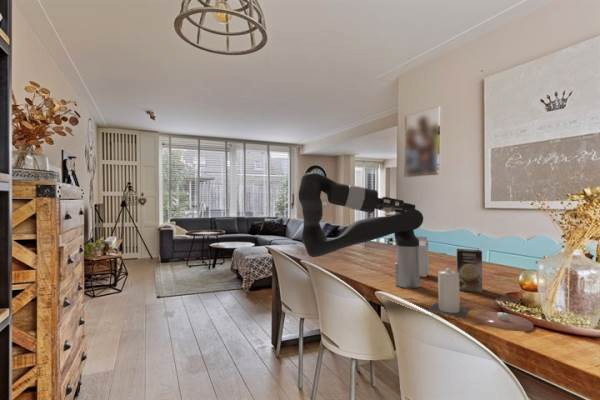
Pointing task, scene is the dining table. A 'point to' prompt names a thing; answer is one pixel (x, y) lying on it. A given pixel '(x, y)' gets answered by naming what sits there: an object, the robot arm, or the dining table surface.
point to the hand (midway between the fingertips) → (409, 209)
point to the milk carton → (423, 256)
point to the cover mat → (461, 313)
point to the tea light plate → (505, 321)
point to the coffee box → (469, 269)
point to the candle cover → (448, 291)
